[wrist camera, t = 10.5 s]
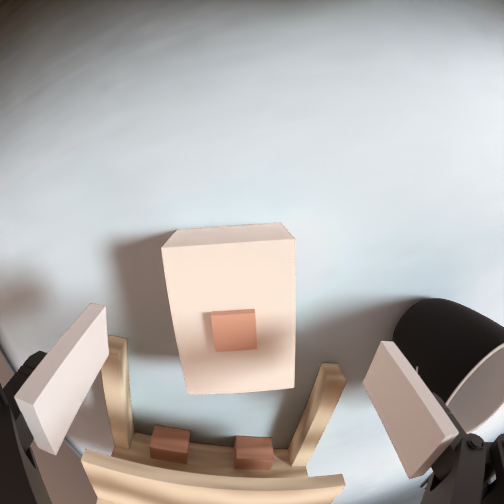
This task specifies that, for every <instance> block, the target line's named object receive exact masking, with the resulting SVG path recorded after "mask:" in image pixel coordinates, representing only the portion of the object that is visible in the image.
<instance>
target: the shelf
mask: <svg viewBox="0 0 504 504" xmlns="http://www.w3.org/2000/svg"><path fill="white" fill-rule="evenodd" d="M108 348H109V355H108V357H107V359H106V360H105V362H104V364H103V366H102V368H101V373H102V380H103V387H104V393H105V399H106V405H107V411H108V416H109V421H110V426H111V431H112V436H113V440H114V445H115V446H114V449H113V452H112V455H111V456H107V455H104V454H101V453H97V452H94V451H91V450H88V449H85V452H84V454H83V457H82V459H81V462H82V464H83V466H84V469H85V471H86V473H87V475H88V478H89V480H90V482H91V484H92V486H93V488H94V490H95V492H96V494H97V496H98V500H97V503H96V504H331V503H332V502H333V500H334V499H335V498H336V497H337V496H338V494H339V493H340V492H341V491H342V490H343V488H344V487H345V486H346V484H345V481H344V478H343V475H342V474H337V475H327V476H315V477H308V474H307V470H306V465H307V463H308V461H309V459H310V457H311V455H312V454H313V452H314V450H315V448H316V446H317V444H318V442H319V440H320V438H321V436H322V434H323V432H324V430H325V428H326V426H327V424H328V422H329V420H330V418H331V416H332V414H333V412H334V409H335V407H336V405H337V403H338V401H339V398H340V396H341V394H342V392H343V389H344V387H345V385H346V382H347V381H346V379H345V377H344V375H343V373H342V371H341V369H340V367H339V365H338V364H332V363H322V364H321V367H320V369H319V372H318V375H317V378H316V381H315V383H314V386H313V389H312V391H311V394H310V397H309V399H308V402H307V404H306V407H305V409H304V412H303V414H302V417H301V419H300V422H299V424H298V427H297V429H296V432H295V434H294V436H293V439H292V441H291V443H290V446H289V448H288V449H273V447H272V440H271V438H266V437H246V436H236V438H235V443H234V447H228V446H217V445H208V444H199V443H192V442H189V440H190V431H189V430H182V429H176V428H170V427H164V426H159V425H155V426H154V430H153V434H152V436H151V435H146V434H141V433H137V432H134V425H133V417H132V408H131V398H130V387H129V374H128V357H127V339H126V338H121V337H117V336H112V335H109V337H108Z"/></svg>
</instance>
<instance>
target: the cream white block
mask: <svg viewBox="0 0 504 504" xmlns="http://www.w3.org/2000/svg"><path fill="white" fill-rule="evenodd" d="M161 251H162V259H163V266H164V273H165V279H166V286H167V292H168V298H169V304H170V310H171V315H172V321H173V326H174V332H175V337H176V342H177V347H178V352H179V356H180V361H181V366H182V370H183V375H184V379H185V383H186V388H187V392H188V395H195V394H227V393H244V392H258V391H269V390H279V389H288V388H294V377H295V330H296V258H295V238H294V237H293V236H292V234H291V233H290V232H289V231H288V230H287V229H286V227H285V226H284V225H283V224H282V223H264V224H248V225H233V226H218V227H205V228H191V229H179V230H176V231H175V233H174V234H173V235H172V236H171V237H170V238H169V239H168V241H167V242H166V243H165V244H164V245H163V246H162V247H161Z"/></svg>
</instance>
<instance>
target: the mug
mask: <svg viewBox="0 0 504 504" xmlns="http://www.w3.org/2000/svg"><path fill="white" fill-rule="evenodd" d="M393 342H394V343H395V345H396V346H397V347H398V348H399V350H400V351H401V352H402V354H403V355H404V356H405V358H406V359H407V360H408V362H409V363H410V364H411V366H412V367H413V368H414V370H415V371H416V372H417V374H418V375H419V376H420V378H421V379H422V380H423V382H424V383H425V385H426V386H427V387H428V389H429V390H430V392H434V393H435V394H436V395H438V396H439V397H440V398H441V399H442V400H443V401H444V403H445V404H446V406H447V408H449V410H450V411H451V414H453V415H454V417H455V418H456V420H457V421H458V422H459V424H460V425H461V427H462V428H463V430H464V431H465V432H466V434H469V433H471V432H473V431H474V430H476V429H477V428H478V427H480V426H481V425H482V424H484V423H485V422H486V421H487V420H488V419H489V418H490V417H491V416H492V415H493V414H494V413H495V412H496V411H497V410H498V409H499V408H500V407H501V406H502V405H503V403H504V327H502V326H501V325H499V324H498V323H496V322H494V321H493V320H491V319H489V318H487V317H485V316H484V315H482V314H480V313H478V312H476V311H474V310H472V309H470V308H468V307H466V306H463V305H461V304H458V303H456V302H453V301H450V300H446V299H440V298H433V299H427V300H424V301H421V302H419V303H417V304H416V305H414V306H413V307H412V308H410V309H409V310H408V311H407V312H406V313H405V315H404V316H403V317H402V318H401V320H400V321H399V323H398V325H397V327H396V329H395V332H394V336H393Z"/></svg>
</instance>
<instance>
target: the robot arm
mask: <svg viewBox="0 0 504 504" xmlns="http://www.w3.org/2000/svg"><path fill="white" fill-rule="evenodd" d="M108 355H109V348H108V337H107V323H106V306H103V305H98V304H94V303H91V304H90V305H89V306H88V307H87V308H86V309H85V310H84V311H83V312H82V314H81V315H80V316H79V317H78V318H77V319H76V320H75V322H74V323H73V324H72V325H71V326H70V327H69V329H68V330H67V331H66V332H65V333H64V334H63V336H62V337H61V338H60V339H59V340H58V342H57V343H56V344H55V345H54V346H53V348H52V349H51V350H50V351H49V352H48V353H45V352H42V351H38V352H36V353H35V354H33V355H31V356H30V357H29V358H28V359H27V360H26V361H25V362H24V364H23V366H21V367H20V368H19V370H18V372H16V373H15V374H14V376H13V377H12V378H11V379H10V381H9V382H8V383H7V384H6V386H5V387H4V388H3V389H2V387H1V384H0V504H52V502H51V500H50V497H49V495H48V492H47V490H46V488H45V485H44V483H43V480H42V477H41V475H40V472H39V469H38V466H37V463H36V460H35V458H34V455H33V451H32V449H31V447H30V445H31V443H32V441H33V439H34V440H35V442H36V444H37V446H38V448H40V449H42V450H44V451H47V452H49V453H51V454H54V455H56V454H57V452H58V450H59V448H60V446H61V443H62V441H63V440H64V438H65V435H66V433H67V431H68V429H69V427H70V425H71V423H72V422H73V420H74V418H75V416H76V414H77V412H78V410H79V408H80V406H81V404H82V402H83V400H84V398H85V397H86V395H87V393H88V391H89V389H90V387H91V386H92V384H93V382H94V380H95V378H96V376H97V375H98V373H99V371H100V369H101V368H102V366H103V364H104V362H105V360H106V359H107V357H108ZM363 385H364V387H365V389H366V391H367V393H368V395H369V397H370V399H371V401H372V403H373V405H374V407H375V409H376V411H377V413H378V415H379V417H380V419H381V421H382V423H383V425H384V427H385V429H386V432H387V434H388V436H389V438H390V440H391V442H392V444H393V446H394V448H395V450H396V452H397V454H398V457H399V459H400V461H401V463H402V465H403V467H404V469H405V472H406V474H407V476H408V478H409V479H411V478H415V477H419V476H422V475H424V474H425V473H426V471H427V470H428V469H429V468H430V467H431V468H432V470H433V473H432V474H431V475H430V476H429V477H428V478H427V479H426V480H425V481H424V482H423V483H422V484H421V486H420V487H421V488H422V487H423V486H424V485H425V484H426V483H427V486H426V488H425V492H424V495H423V498H422V501H421V504H504V434H501V435H499V436H498V437H497V439H496V440H495V441H494V442H484V440H483V439H482V438H481V437H480V436H478V435H476V434H472V433H470V434H466V432H465V431H464V430H463V428H462V427H461V425H460V424H459V422H458V421H457V420H456V418H455V417H454V415H453V414H451V411H450V410H449V408H447V406H446V404H445V403H444V401H443V400H442V399H441V398H440V397H439V396H438V395H436V394H435V393H434V392H430V390H429V389H428V387H427V386H426V385H425V383H424V382H423V380H422V379H421V378H420V376H419V375H418V374H417V372H416V371H415V370H414V368H413V367H412V366H411V364H410V363H409V362H408V360H407V359H406V358H405V356H404V355H403V354H402V352H401V351H400V350H399V348H398V347H397V346H396V345H395V343H394V342H393V341H381V342H380V344H379V347H378V349H377V351H376V354H375V356H374V358H373V361H372V363H371V365H370V367H369V370H368V372H367V374H366V376H365V378H364V381H363ZM495 474H496V480H495V481H494V482H493V483H491V481H490V479H491V478H492V477H493V476H494V475H495Z"/></svg>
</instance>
